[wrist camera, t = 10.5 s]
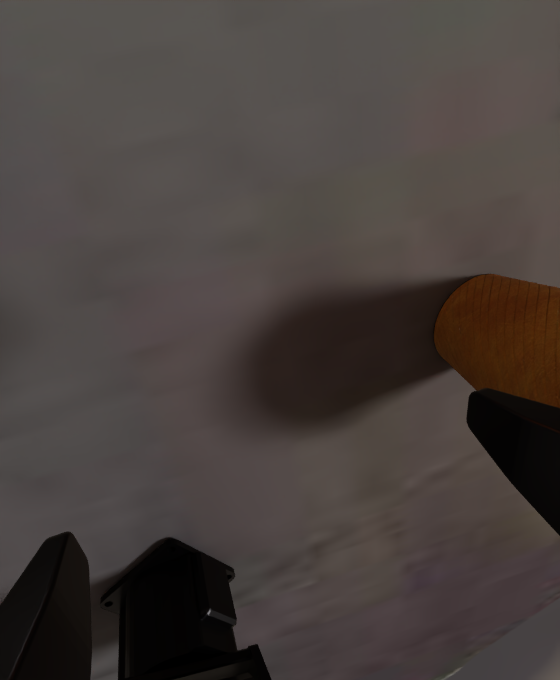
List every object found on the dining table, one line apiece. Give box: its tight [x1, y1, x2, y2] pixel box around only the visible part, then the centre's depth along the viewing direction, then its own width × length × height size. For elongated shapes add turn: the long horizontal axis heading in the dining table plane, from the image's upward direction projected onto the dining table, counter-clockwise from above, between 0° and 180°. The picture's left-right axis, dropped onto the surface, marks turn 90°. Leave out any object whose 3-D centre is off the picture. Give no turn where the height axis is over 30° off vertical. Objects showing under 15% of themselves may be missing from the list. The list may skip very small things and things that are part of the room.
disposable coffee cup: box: [434, 274, 560, 408], centre depth 21 cm, size 10×10×12 cm
